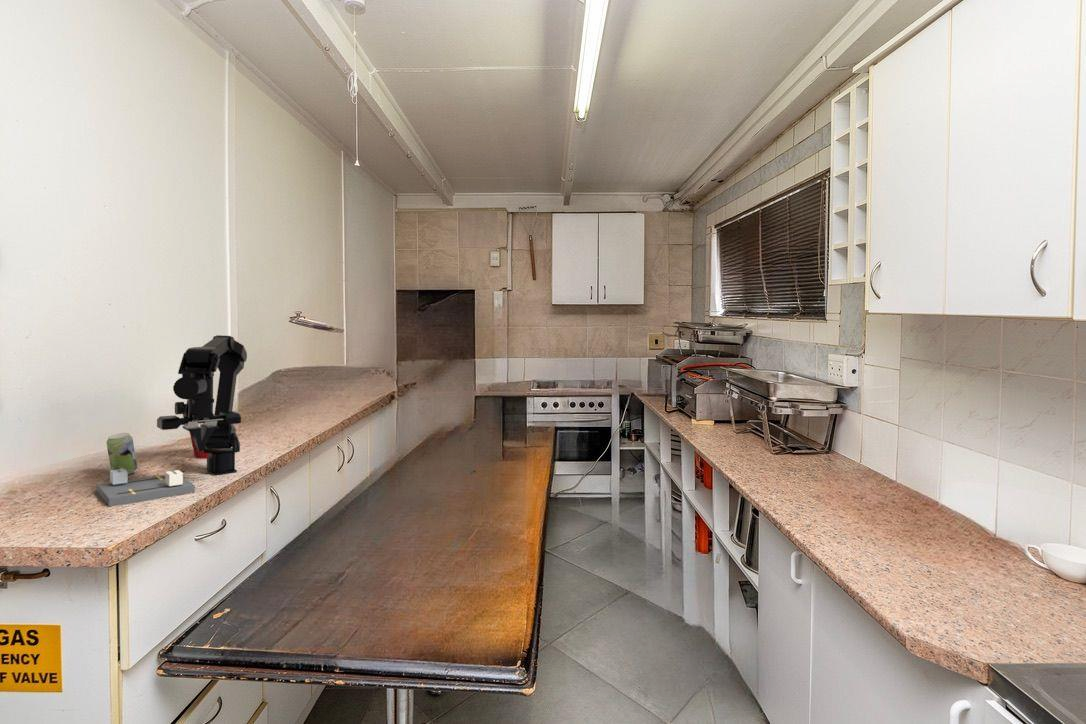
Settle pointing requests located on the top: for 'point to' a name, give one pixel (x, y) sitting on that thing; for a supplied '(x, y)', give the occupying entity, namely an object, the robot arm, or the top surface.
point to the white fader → (118, 476)
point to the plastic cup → (196, 452)
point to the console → (141, 490)
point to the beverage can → (121, 452)
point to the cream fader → (174, 478)
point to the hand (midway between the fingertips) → (200, 451)
